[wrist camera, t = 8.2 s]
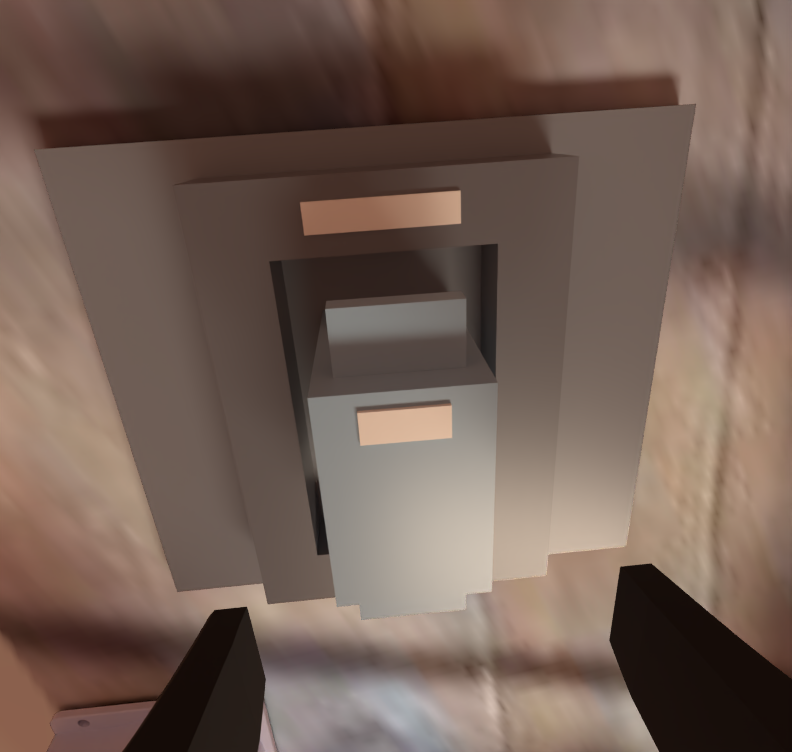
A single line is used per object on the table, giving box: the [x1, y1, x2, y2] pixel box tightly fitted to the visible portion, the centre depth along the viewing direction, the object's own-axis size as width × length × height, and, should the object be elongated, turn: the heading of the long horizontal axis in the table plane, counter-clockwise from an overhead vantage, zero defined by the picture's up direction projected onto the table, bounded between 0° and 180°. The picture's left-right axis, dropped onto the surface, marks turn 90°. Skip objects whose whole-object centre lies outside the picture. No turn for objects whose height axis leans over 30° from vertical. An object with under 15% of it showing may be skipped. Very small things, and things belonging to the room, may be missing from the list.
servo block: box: [307, 291, 498, 620], centre depth 15 cm, size 4×9×6 cm, turn 3°
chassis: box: [34, 104, 696, 604], centre depth 17 cm, size 18×16×3 cm
